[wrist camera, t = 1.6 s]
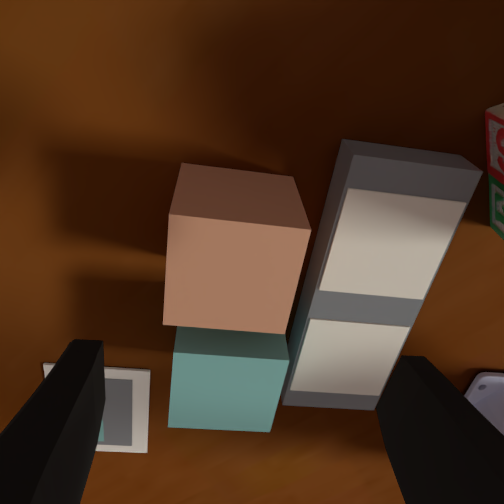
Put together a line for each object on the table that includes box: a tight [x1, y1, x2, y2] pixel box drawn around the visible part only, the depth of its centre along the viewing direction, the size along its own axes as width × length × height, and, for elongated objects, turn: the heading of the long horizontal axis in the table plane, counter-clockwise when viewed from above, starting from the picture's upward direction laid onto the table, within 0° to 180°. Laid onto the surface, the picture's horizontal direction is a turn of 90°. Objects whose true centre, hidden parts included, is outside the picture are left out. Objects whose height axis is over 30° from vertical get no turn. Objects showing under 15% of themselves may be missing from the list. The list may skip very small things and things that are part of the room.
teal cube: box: [168, 326, 290, 432], centre depth 22 cm, size 5×5×5 cm
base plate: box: [281, 139, 483, 410], centre depth 22 cm, size 15×6×2 cm, turn 171°
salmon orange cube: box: [163, 163, 311, 334], centre depth 18 cm, size 5×5×5 cm
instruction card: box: [43, 363, 150, 453], centre depth 27 cm, size 8×6×1 cm
